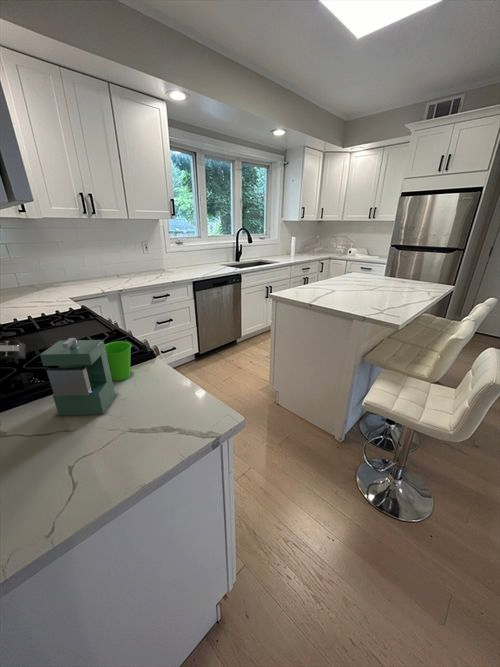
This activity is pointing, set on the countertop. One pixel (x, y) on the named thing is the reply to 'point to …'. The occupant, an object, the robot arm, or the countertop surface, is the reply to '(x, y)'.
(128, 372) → the cup
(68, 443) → the countertop surface
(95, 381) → the dispenser
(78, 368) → the plate
